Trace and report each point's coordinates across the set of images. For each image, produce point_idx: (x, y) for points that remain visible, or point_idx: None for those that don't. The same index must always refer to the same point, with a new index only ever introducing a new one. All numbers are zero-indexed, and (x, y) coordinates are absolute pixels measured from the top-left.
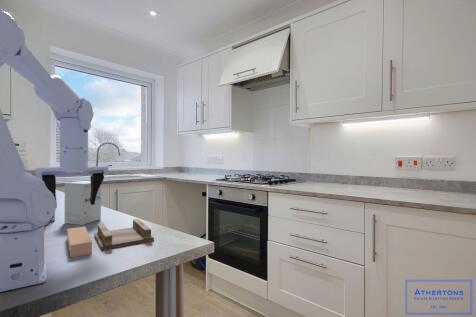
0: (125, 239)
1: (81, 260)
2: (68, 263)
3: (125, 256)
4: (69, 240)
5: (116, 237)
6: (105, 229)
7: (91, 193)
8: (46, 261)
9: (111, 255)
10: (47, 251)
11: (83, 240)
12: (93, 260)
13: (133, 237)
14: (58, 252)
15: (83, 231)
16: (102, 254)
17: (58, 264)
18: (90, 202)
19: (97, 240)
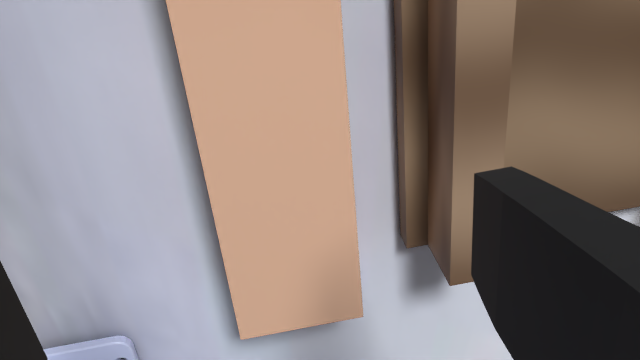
0: (569, 164)
1: (295, 335)
2: (237, 351)
3: (490, 345)
4: (219, 241)
5: (533, 93)
6: (489, 112)
7: (565, 338)
8: (129, 351)
9: (435, 317)
10: (62, 137)
11: (313, 278)
12: (349, 349)
13: (629, 140)
14: (147, 183)
15: (310, 42)
16: (397, 293)
17: (191, 350)
18: (481, 204)
19: (399, 73)
